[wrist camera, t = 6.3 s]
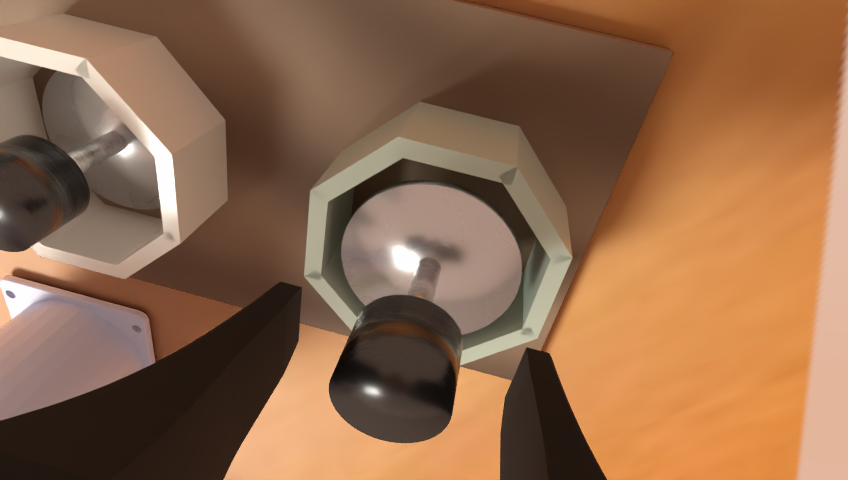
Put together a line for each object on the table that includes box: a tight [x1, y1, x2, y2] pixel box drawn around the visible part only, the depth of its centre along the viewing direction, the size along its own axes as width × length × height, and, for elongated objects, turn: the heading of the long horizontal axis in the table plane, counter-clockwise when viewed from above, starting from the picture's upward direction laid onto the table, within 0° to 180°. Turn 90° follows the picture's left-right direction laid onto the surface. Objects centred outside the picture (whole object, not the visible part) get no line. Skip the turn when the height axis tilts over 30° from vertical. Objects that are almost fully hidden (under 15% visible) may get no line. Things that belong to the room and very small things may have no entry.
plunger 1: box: [0, 71, 161, 252], centre depth 18 cm, size 6×6×6 cm
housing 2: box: [304, 102, 573, 365], centre depth 18 cm, size 8×8×3 cm
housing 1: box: [0, 14, 228, 279], centre depth 19 cm, size 8×8×3 cm
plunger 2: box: [329, 179, 522, 443], centre depth 15 cm, size 6×6×6 cm
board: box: [0, 0, 674, 380], centre depth 20 cm, size 15×24×1 cm, turn 79°
